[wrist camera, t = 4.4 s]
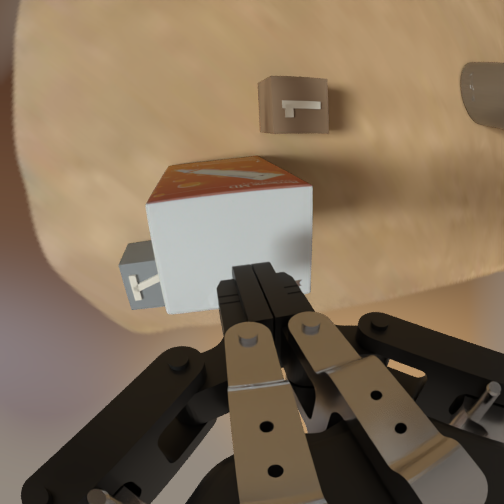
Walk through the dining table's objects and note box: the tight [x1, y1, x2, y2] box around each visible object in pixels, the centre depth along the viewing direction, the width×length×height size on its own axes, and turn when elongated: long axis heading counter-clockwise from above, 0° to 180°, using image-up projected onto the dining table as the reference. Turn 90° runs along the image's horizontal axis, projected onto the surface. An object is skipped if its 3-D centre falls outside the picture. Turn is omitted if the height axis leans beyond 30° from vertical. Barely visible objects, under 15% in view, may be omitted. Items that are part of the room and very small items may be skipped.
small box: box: [146, 156, 313, 314], centre depth 20 cm, size 8×6×13 cm
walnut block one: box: [258, 76, 329, 134], centre depth 21 cm, size 4×4×5 cm
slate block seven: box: [119, 241, 165, 310], centre depth 25 cm, size 4×4×5 cm
